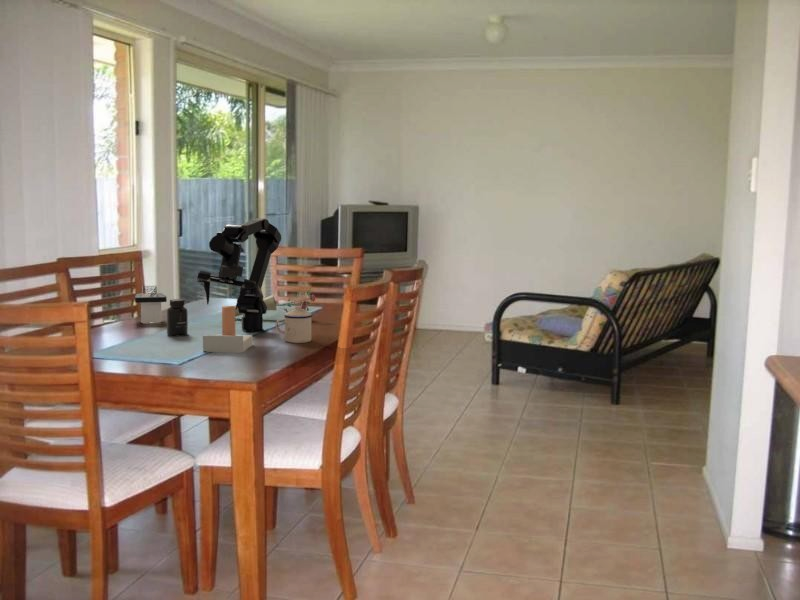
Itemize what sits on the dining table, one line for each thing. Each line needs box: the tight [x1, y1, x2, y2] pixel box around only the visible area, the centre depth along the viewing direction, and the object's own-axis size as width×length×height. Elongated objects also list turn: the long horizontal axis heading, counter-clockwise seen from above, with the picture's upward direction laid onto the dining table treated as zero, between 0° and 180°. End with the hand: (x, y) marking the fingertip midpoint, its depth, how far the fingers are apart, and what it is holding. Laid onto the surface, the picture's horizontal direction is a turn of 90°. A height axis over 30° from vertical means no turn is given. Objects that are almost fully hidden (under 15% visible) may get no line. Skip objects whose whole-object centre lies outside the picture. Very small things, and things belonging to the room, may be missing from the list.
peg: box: [221, 305, 236, 336], centre depth 253 cm, size 4×4×13 cm
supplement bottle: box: [166, 298, 189, 336], centre depth 275 cm, size 7×7×12 cm
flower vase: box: [234, 287, 316, 318], centre depth 311 cm, size 12×12×35 cm
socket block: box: [202, 334, 253, 354], centre depth 253 cm, size 14×12×5 cm
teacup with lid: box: [275, 305, 313, 344], centre depth 267 cm, size 12×9×12 cm
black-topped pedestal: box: [134, 285, 168, 324], centre depth 302 cm, size 28×26×13 cm
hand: (221, 306), depth 264 cm, fingers open, 9 cm apart
